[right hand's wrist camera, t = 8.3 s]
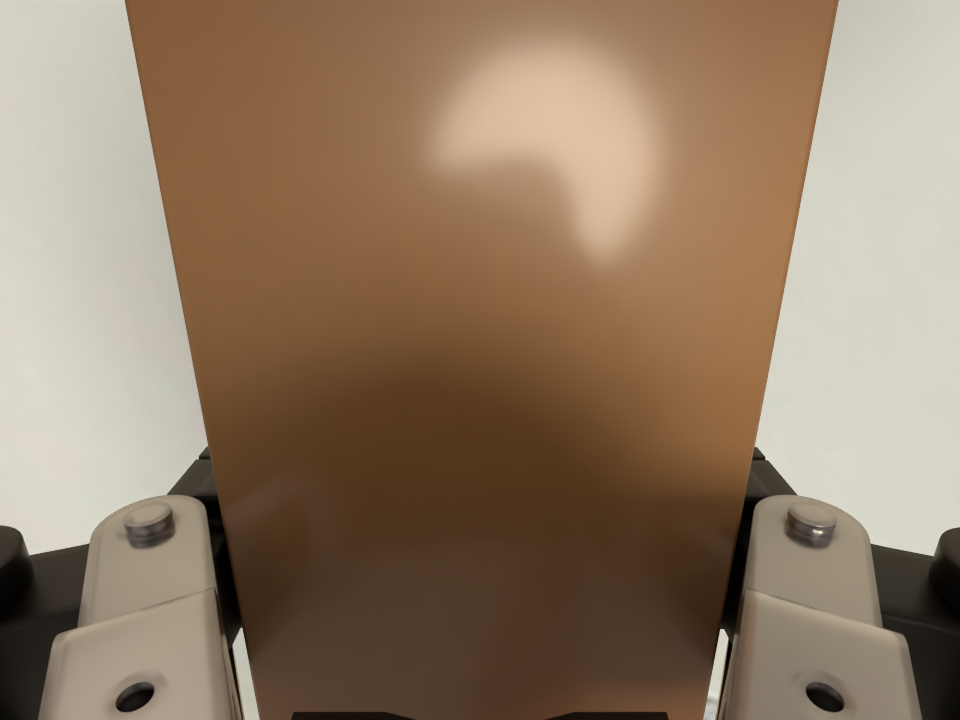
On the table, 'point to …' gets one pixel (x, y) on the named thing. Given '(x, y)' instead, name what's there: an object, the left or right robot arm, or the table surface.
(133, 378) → the table surface
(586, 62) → the box
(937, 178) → the table surface
